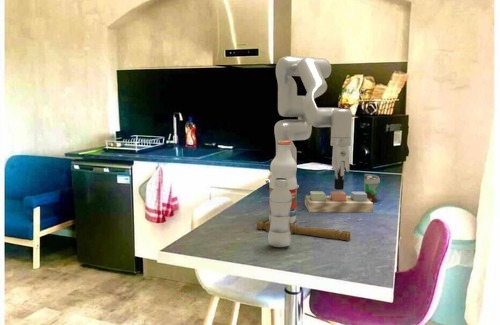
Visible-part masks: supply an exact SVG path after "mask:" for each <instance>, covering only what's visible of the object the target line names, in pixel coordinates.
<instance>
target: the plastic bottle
mask: <svg viewBox="0 0 500 325" xmlns="http://www.w3.org/2000/svg"><path fill="white" fill-rule="evenodd" d="M274 185H275V188H274V189H273V190H272V192H271V193H270V196H269V198H268V199H270V208H271V222H270V230H269V232H268V235H267V236H268V237H267V238H268V244H269V245H270V246H271V247H275V248H285V247H288V246H289V245H290V244H291V241H292V234H291V233H290V221H289V219H290V209H291V203H292V194H291V192H290V191H289V189H288V188H287V186H288V180H287V178H275V179H274Z"/></svg>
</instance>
